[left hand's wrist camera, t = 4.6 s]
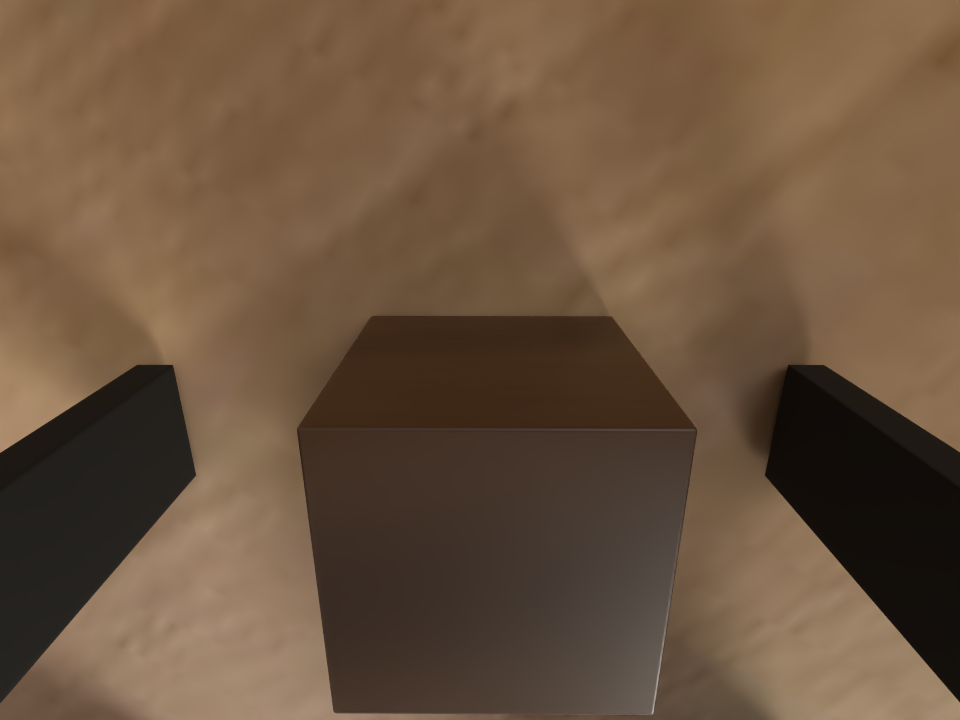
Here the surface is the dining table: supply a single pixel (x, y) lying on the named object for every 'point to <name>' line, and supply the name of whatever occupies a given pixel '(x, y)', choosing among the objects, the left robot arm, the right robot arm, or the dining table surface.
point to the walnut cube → (495, 517)
